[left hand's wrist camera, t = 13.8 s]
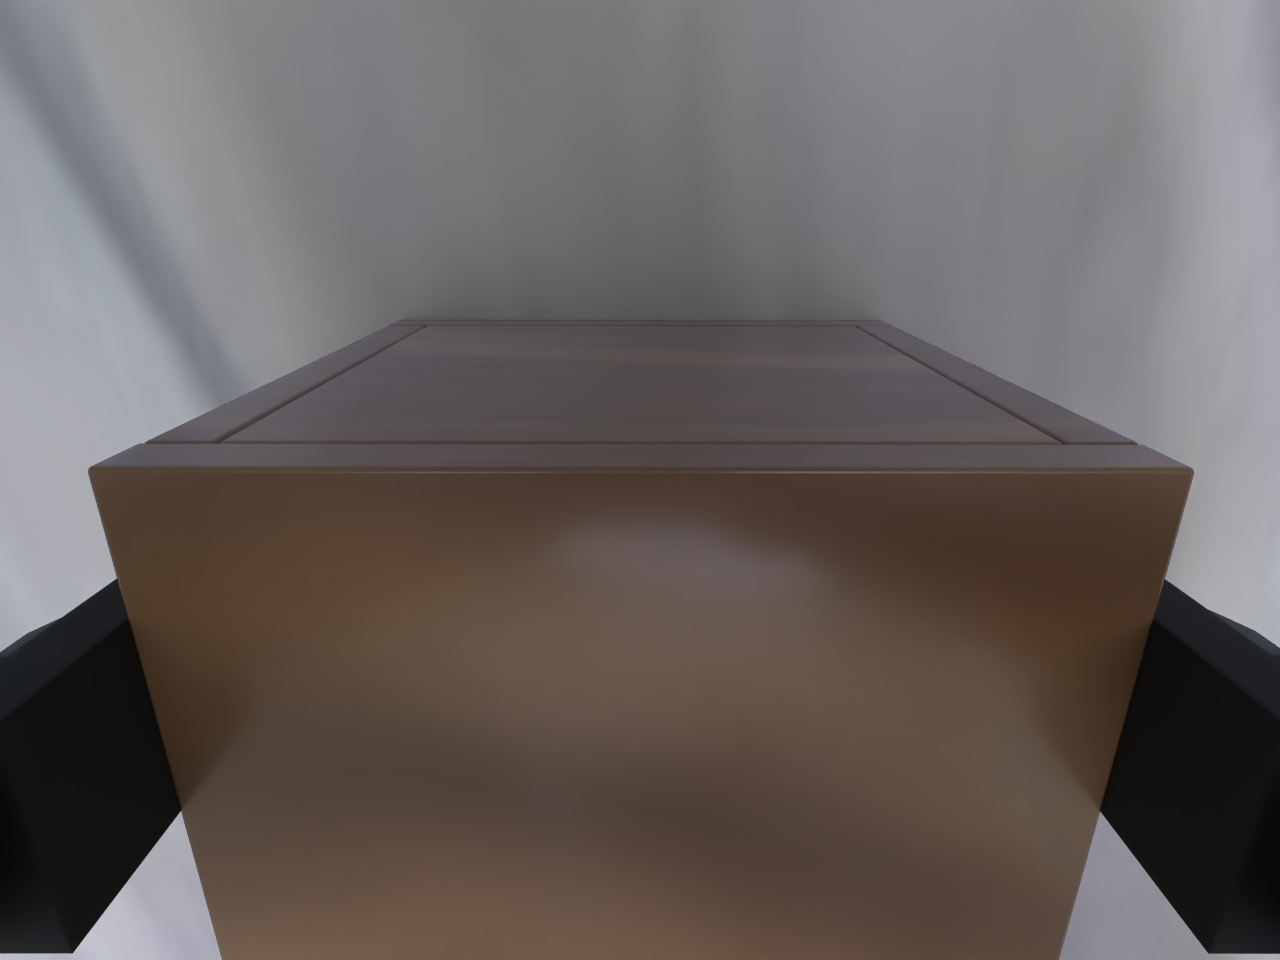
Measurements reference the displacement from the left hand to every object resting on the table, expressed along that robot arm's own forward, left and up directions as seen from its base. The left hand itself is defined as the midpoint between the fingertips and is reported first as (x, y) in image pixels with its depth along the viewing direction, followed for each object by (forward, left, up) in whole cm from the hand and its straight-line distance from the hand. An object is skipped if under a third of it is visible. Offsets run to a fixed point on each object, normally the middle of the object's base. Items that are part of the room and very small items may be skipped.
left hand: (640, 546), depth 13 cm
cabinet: (+4, +7, -6) cm, 9 cm away
